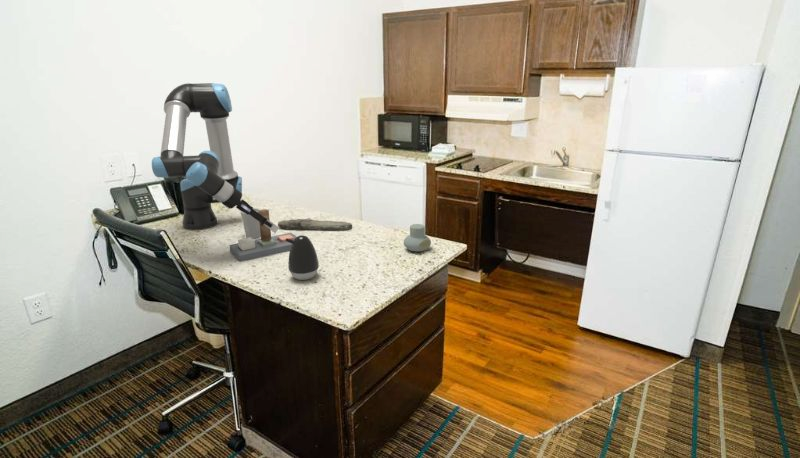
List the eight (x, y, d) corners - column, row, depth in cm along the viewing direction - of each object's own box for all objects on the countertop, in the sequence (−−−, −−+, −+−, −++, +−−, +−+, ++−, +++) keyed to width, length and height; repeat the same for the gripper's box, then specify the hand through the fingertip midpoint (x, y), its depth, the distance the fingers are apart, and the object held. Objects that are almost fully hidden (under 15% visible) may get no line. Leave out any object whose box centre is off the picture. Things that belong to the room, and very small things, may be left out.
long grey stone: (349, 235, 195) (353, 229, 205) (350, 224, 194) (354, 219, 203) (274, 230, 197) (281, 224, 207) (274, 218, 196) (281, 213, 205)
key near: (238, 246, 170) (237, 239, 169) (251, 244, 173) (250, 237, 172) (242, 250, 166) (241, 243, 165) (255, 247, 169) (254, 240, 168)
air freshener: (418, 243, 180) (419, 220, 177) (433, 248, 175) (434, 225, 172) (400, 250, 173) (400, 226, 170) (415, 255, 168) (415, 231, 164)
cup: (257, 240, 184) (254, 213, 180) (240, 239, 186) (236, 212, 182) (266, 234, 192) (263, 208, 188) (249, 233, 193) (246, 207, 189)
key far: (278, 243, 179) (277, 236, 179) (289, 241, 182) (289, 234, 181) (282, 246, 176) (282, 239, 175) (294, 244, 178) (293, 237, 177)
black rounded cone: (291, 271, 153) (287, 231, 149) (320, 270, 154) (318, 230, 149) (286, 284, 144) (282, 241, 139) (318, 282, 145) (315, 240, 140)
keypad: (229, 250, 173) (229, 245, 172) (291, 238, 187) (290, 232, 186) (240, 261, 162) (239, 255, 161) (304, 247, 176) (304, 241, 176)
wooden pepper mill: (259, 238, 174) (256, 210, 170) (269, 237, 176) (266, 208, 172) (262, 241, 171) (260, 212, 167) (272, 239, 173) (270, 211, 169)
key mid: (259, 247, 175) (258, 240, 174) (271, 244, 178) (270, 238, 177) (263, 251, 171) (262, 244, 170) (275, 248, 174) (275, 241, 173)
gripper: (215, 198, 166) (262, 230, 180) (227, 208, 153) (276, 242, 167) (227, 182, 167) (273, 216, 181) (240, 191, 154) (288, 226, 168)
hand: (274, 228), depth 174 cm, fingers closed on wooden pepper mill, 4 cm apart
